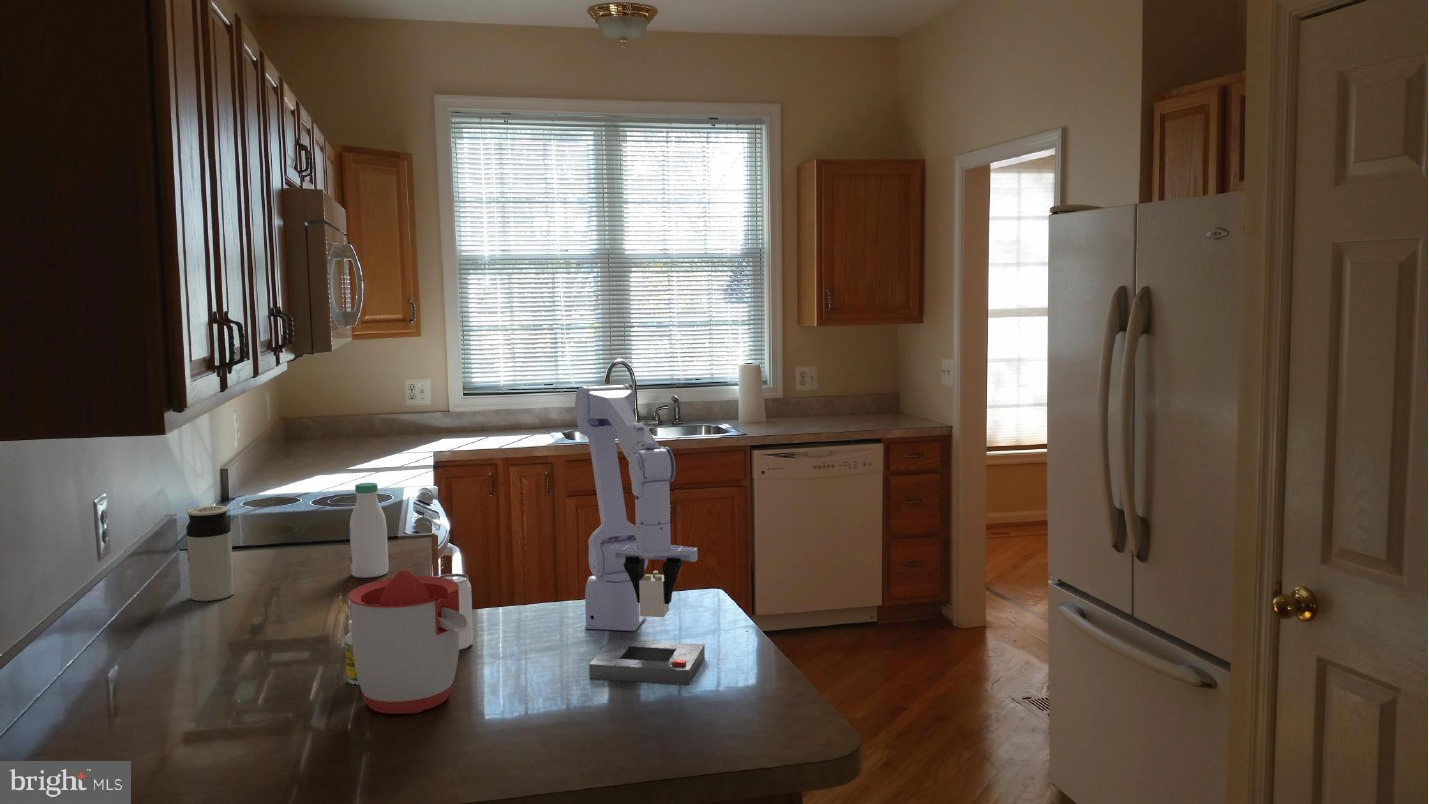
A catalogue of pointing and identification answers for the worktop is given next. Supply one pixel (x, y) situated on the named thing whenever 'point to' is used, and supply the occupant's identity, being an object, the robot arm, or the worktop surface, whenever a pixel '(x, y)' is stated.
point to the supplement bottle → (350, 658)
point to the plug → (652, 595)
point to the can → (464, 607)
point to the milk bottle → (368, 534)
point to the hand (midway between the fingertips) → (654, 601)
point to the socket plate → (647, 662)
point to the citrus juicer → (406, 641)
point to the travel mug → (210, 554)
